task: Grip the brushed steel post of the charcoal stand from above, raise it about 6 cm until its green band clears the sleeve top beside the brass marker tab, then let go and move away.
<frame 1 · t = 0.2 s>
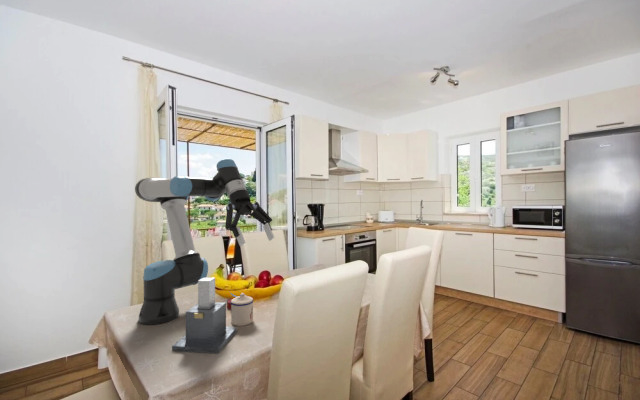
hand: (258, 241, 107), 35 cm above the table, tool tilted 35°, fingers open, 13 cm apart
canned food: (237, 306, 138), on the table
teacup with lid: (241, 320, 121), on the table
stand: (206, 340, 104), on the table
post: (206, 307, 104), point 12 cm above the table, slide at 0.0 cm
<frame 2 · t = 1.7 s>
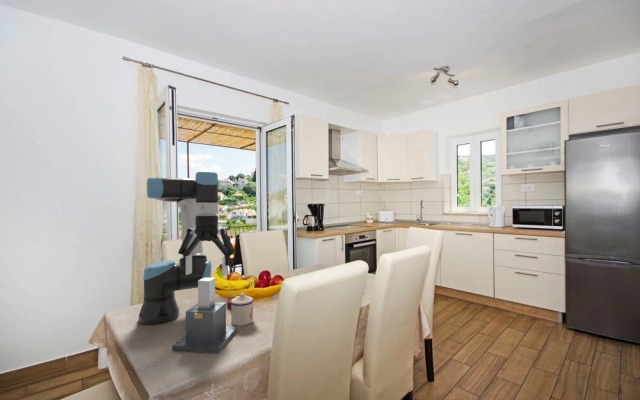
hand: (206, 274, 104), 24 cm above the table, tool pointing down, fingers open, 13 cm apart
nothing on the table moved.
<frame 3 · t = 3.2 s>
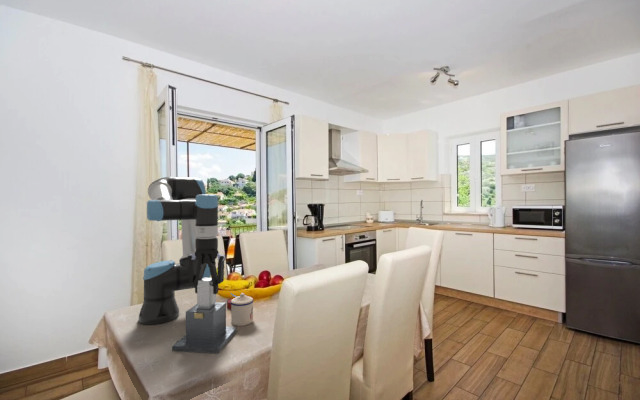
hand: (206, 302, 104), 14 cm above the table, tool pointing down, fingers closed on post, 4 cm apart
post: (206, 307, 104), point 12 cm above the table, slide at 0.0 cm, touching gripper
everything else where it was.
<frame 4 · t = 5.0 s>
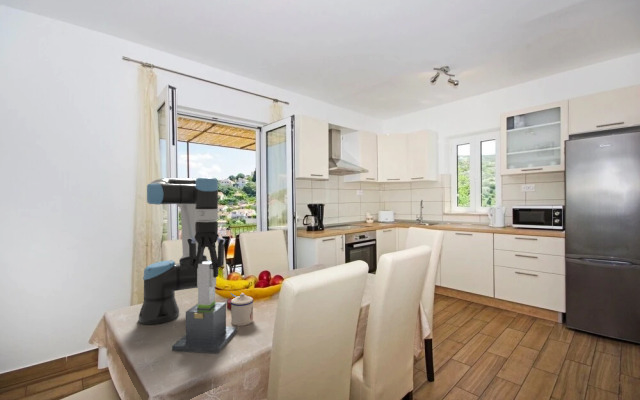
hand: (206, 285, 104), 20 cm above the table, tool pointing down, fingers closed on post, 4 cm apart
post: (206, 290, 104), point 18 cm above the table, slide at 5.9 cm, touching gripper
everything else where it was.
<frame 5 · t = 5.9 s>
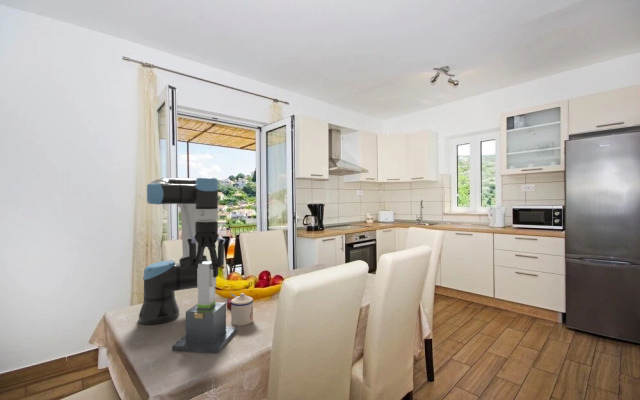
hand: (206, 285, 104), 20 cm above the table, tool pointing down, fingers closed on post, 4 cm apart
post: (206, 290, 104), point 18 cm above the table, slide at 6.0 cm, touching gripper
everything else where it was.
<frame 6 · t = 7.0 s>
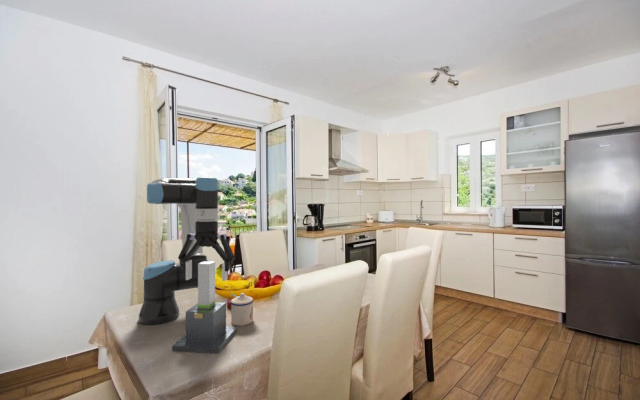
hand: (206, 279, 104), 22 cm above the table, tool pointing down, fingers open, 13 cm apart
post: (206, 290, 104), point 18 cm above the table, slide at 6.0 cm
everything else where it was.
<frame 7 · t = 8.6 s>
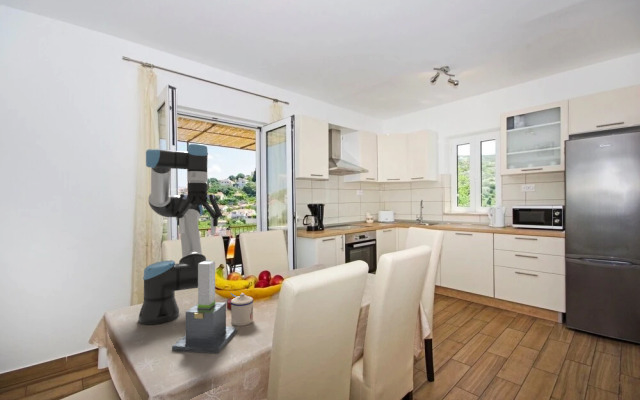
hand: (197, 234, 119), 36 cm above the table, tool pointing down, fingers open, 13 cm apart
nothing on the table moved.
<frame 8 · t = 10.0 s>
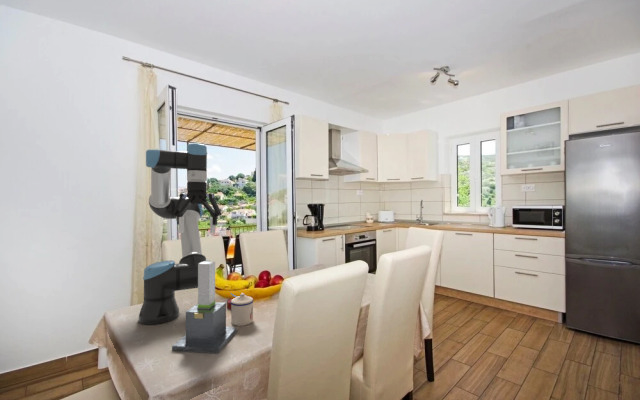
hand: (197, 232, 120), 37 cm above the table, tool pointing down, fingers open, 13 cm apart
nothing on the table moved.
at the end: post slide at 6.0 cm; the gripper is holding nothing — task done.
